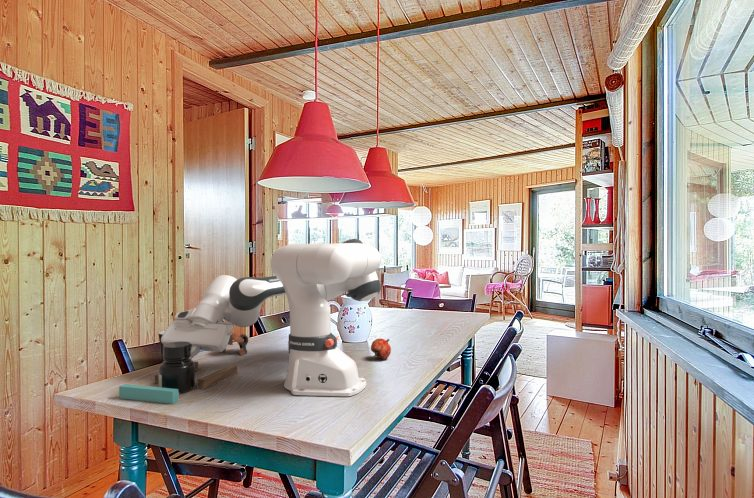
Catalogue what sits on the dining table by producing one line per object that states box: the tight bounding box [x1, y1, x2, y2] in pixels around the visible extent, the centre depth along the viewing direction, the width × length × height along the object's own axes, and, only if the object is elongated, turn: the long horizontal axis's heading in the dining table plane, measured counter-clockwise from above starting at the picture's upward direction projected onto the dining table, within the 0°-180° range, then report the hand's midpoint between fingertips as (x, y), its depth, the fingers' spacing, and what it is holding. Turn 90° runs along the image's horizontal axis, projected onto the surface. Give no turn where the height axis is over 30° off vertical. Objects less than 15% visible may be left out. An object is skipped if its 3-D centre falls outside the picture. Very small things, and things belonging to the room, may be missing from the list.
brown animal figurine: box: [221, 332, 249, 356], centre depth 163 cm, size 12×10×8 cm
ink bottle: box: [158, 341, 196, 394], centre depth 120 cm, size 10×9×12 cm
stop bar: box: [118, 383, 179, 405], centre depth 112 cm, size 16×2×3 cm, turn 74°
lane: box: [154, 360, 239, 390], centre depth 131 cm, size 16×16×2 cm
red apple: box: [369, 338, 392, 361], centre depth 153 cm, size 7×7×10 cm
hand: (183, 361), depth 125 cm, fingers closed, pressing on ink bottle
